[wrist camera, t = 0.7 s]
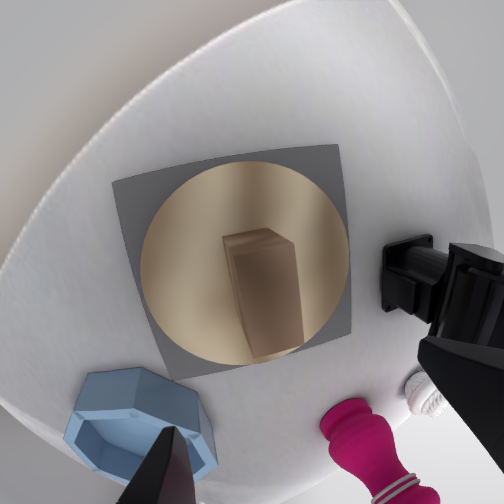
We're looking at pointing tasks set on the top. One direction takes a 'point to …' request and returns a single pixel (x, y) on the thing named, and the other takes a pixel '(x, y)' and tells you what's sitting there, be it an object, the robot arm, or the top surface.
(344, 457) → the pepper mill
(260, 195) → the lid
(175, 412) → the bowl
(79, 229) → the top surface
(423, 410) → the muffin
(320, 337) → the mat
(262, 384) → the top surface
